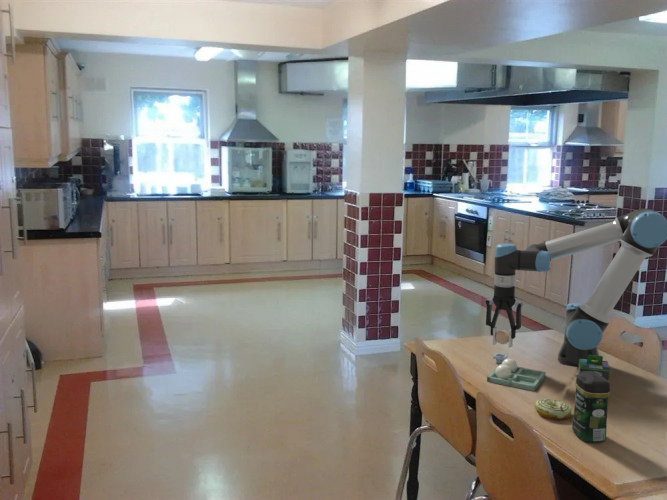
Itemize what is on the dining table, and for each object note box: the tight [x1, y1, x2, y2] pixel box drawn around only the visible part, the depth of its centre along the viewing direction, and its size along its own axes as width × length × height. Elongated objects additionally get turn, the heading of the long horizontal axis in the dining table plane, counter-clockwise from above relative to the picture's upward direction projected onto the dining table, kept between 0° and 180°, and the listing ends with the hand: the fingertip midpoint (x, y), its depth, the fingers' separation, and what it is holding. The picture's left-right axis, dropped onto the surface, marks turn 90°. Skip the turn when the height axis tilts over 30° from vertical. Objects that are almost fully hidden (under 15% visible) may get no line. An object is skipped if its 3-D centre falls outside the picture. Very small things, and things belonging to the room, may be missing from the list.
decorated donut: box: [534, 397, 573, 421], centre depth 192 cm, size 10×11×4 cm
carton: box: [486, 363, 547, 392], centre depth 218 cm, size 16×16×2 cm
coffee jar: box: [571, 371, 611, 444], centre depth 176 cm, size 10×8×19 cm
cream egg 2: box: [494, 364, 511, 380], centre depth 217 cm, size 5×5×5 cm
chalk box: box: [577, 355, 611, 382], centre depth 205 cm, size 9×9×15 cm
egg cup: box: [492, 352, 508, 364], centre depth 235 cm, size 4×4×4 cm
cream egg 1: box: [501, 357, 518, 373], centre depth 223 cm, size 5×5×5 cm
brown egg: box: [495, 329, 509, 345], centre depth 234 cm, size 5×5×5 cm
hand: (502, 345), depth 234 cm, fingers closed on brown egg, 5 cm apart
